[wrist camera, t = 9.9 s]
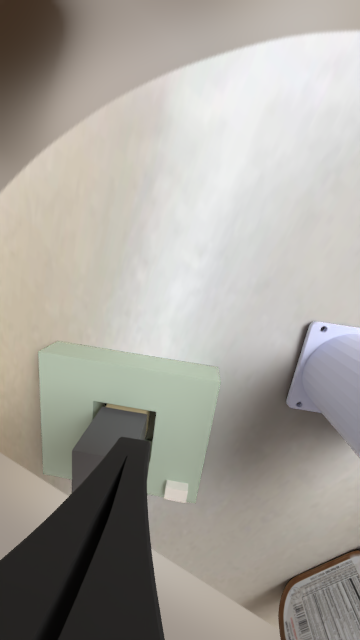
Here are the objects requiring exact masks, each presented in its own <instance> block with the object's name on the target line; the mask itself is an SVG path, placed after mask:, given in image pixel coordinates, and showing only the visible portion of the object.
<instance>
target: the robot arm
mask: <svg viewBox="0 0 360 640" xmlns="http://www.w3.org/2000/svg"><path fill="white" fill-rule="evenodd" d="M323 326H324V327H325V329H324V330H323V331H320V330H321V327H323ZM298 402H300V404H297V403H298ZM286 403H287V405H288V406H289V407H290V408H294V409H300V410H306V411H312V412H318V413H322V414H323V415H324V416H325V417H326V418H327V420H328V421H329V422H330V423H331V424H332V426H333V427H334V428H335V429H336V430H337V432H338V433H339V434H340V435H341V436H342V438H343V439H344V440H345V441H346V442H347V444H348V445H349V446H350V447H351V448H352V450H353V451H354V452H355V453H356V454H357V456H358V457H359V458H360V328H359V327H352V326H345V325H338V324H332V323H325V322H318V321H314V322H312V323H311V324H310V325H309V328H308V331H307V334H306V338H305V341H304V344H303V347H302V351H301V354H300V357H299V360H298V364H297V367H296V370H295V374H294V377H293V380H292V383H291V387H290V390H289V393H288V396H287V400H286ZM150 448H151V443H150V442H149V441H146V440H139V439H133V438H127V437H120V438H119V439H118V440H117V442H116V443H115V444H114V446H113V447H112V448H111V450H110V451H109V452H108V453H107V455H106V456H105V457H104V458H103V459H102V461H101V462H100V463H99V464H98V465H97V467H96V468H95V469H94V470H93V471H92V472H91V473H90V475H89V476H88V477H87V478H86V479H85V480H84V481H83V482H82V483H81V485H80V486H79V487H78V488H77V489H76V490H75V491H74V492H73V493H72V494H71V495H70V496H69V497H68V498H67V499H66V500H65V501H64V502H63V504H61V505H60V506H59V507H58V508H57V509H56V510H55V511H54V512H53V513H52V514H51V515H50V516H49V517H48V518H47V519H46V520H45V521H44V522H43V523H42V524H41V525H40V526H39V527H38V528H36V529H35V530H34V531H33V532H32V533H31V534H30V535H29V536H28V537H27V538H26V539H24V540H23V541H22V542H21V543H20V544H19V545H17V546H16V547H15V548H14V549H13V550H12V551H11V552H9V553H8V554H7V555H6V556H5V557H4V558H3V559H1V560H0V640H165V639H164V633H163V627H162V622H161V615H160V608H159V603H158V597H157V591H156V583H155V576H154V568H153V561H152V553H151V543H150V533H149V521H148V506H147V477H148V469H149V458H150Z"/></svg>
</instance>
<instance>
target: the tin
mask: <svg viewBox="0 0 360 640" xmlns="http://www.w3.org/2000/svg"><path fill="white" fill-rule="evenodd" d="M279 629H280V637H281V640H360V550H358V551H352V552H349V553H347V554H345V555H343V556H340V557H338V558H336V559H334V560H331V561H329V562H327V563H325V564H322V565H320V566H318V567H316V568H313V569H311V570H309V571H306V572H304V573H302V574H300V575H297V576H295V577H294V578H292V579H291V580H290V581H289V582H288V584H287V585H286V587H285V589H284V591H283V593H282V597H281V600H280V605H279Z"/></svg>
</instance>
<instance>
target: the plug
mask: <svg viewBox="0 0 360 640" xmlns="http://www.w3.org/2000/svg"><path fill="white" fill-rule="evenodd" d="M149 415H150V411H149V410H143V409H137V408H131V407H126V406H120V405H114V404H109V403H108V404H107V405H106V407H101V409H100V410H99V411H98V413H97V414H96V416H95V417H94V419H93V420H92V422H91V423H90V425H89V426H88V428H87V429H86V430H85V432H84V433H83V435H82V436H81V438H80V439H79V441H78V442H77V444H76V445H75V447H74V448H73V450H72V493H73V492H74V491H75V490H76V489H77V488H78V487H79V486H80V485H81V483H82V482H83V481H84V480H85V479H86V478H87V477H88V476H89V475H90V473H91V472H92V471H93V470H94V469H95V468H96V467H97V465H98V464H99V463H100V462H101V461H102V459H103V458H104V457H105V456H106V455H107V453H108V452H109V451H110V450H111V448H112V447H113V446H114V444H115V443H116V442H117V440H118V439H119V438H120V437H127V438H133V439H139V440H145V437H146V434H147V430H148V424H149Z"/></svg>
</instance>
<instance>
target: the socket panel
mask: <svg viewBox="0 0 360 640" xmlns="http://www.w3.org/2000/svg"><path fill="white" fill-rule="evenodd" d="M38 358H39V383H40V408H41V434H42V459H43V474H46V475H51V476H56V477H61V478H66V479H72V450H73V448H74V447H75V445H76V444H77V442H78V441H79V439H80V438H81V436H82V435H83V433H84V432H85V430H86V429H87V428H88V426H89V425H90V423H91V422H92V420H93V419H94V417H95V416H96V414H97V413H98V411H99V410H100V409H101V407H104V403H109V404H114V405H120V406H126V407H131V408H137V409H143V410H149V411H154V412H156V419H155V427H154V435H153V441H152V440H146V439H145V440H146V441H149V442H150V443H151V448H150V458H149V469H148V477H147V494H149V495H154V496H160V497H164V499H167V500H172V501H177V502H182V503H186V502H191V503H196V498H197V493H198V489H199V484H200V479H201V474H202V470H203V465H204V460H205V455H206V450H207V446H208V441H209V436H210V431H211V427H212V422H213V417H214V412H215V407H216V403H217V398H218V393H219V388H220V384H221V380H220V375H219V370H218V367H214V366H208V365H201V364H195V363H189V362H183V361H177V360H171V359H165V358H158V357H152V356H146V355H140V354H134V353H128V352H122V351H115V350H109V349H103V348H97V347H91V346H85V345H79V344H72V343H66V342H60V341H57V342H55V343H53V344H51V345H50V346H48V347H46V348H44V349H42V350H40V351H38Z"/></svg>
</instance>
